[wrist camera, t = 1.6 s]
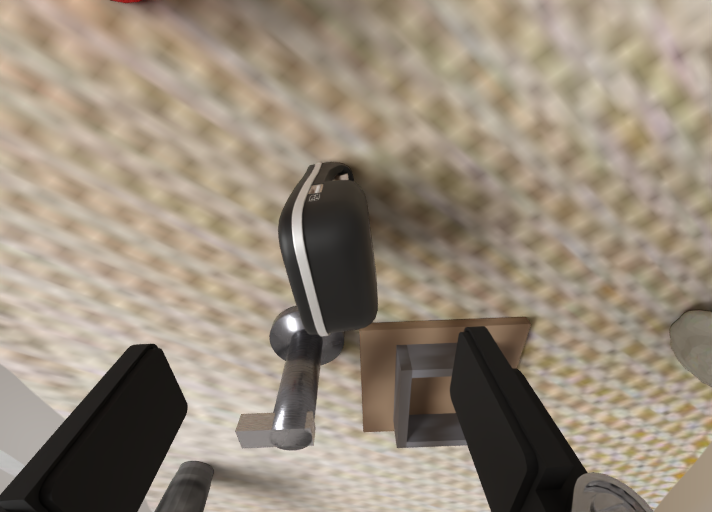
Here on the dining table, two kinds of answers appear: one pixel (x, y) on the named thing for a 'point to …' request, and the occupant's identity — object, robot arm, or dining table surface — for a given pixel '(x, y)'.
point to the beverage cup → (187, 489)
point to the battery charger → (329, 251)
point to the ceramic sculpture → (694, 343)
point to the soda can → (127, 1)
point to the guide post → (291, 386)
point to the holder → (422, 375)
